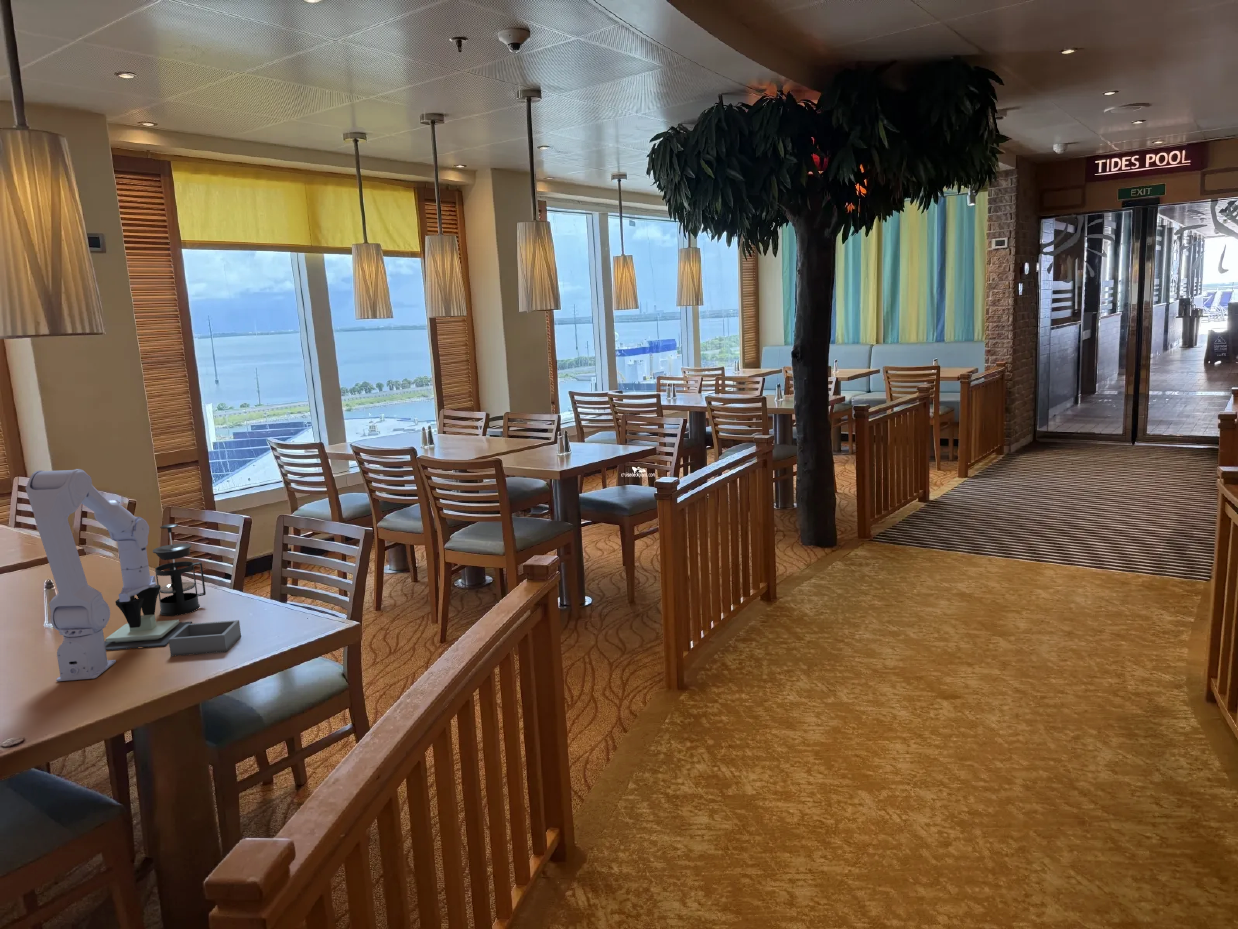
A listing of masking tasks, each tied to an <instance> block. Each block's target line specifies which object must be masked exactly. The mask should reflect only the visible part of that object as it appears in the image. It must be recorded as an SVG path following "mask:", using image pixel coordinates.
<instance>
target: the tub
mask: <svg viewBox="0 0 1238 929" xmlns="http://www.w3.org/2000/svg"><path fill="white" fill-rule="evenodd" d="M241 632H242V630H241V623H240V619H236V620H226V621H225V620H224V621H210V622H195V623H192V624H186V625H185V626H183V627H182V628H181V629H180V630H179V631H178V632H176V633H175V634H174V635H173V636H172V637H171V638H169V644H168V645H169V653H170V657H178V655H181V656H189V654H194V655H203V654H204V655H205V654H206V655H208V654H218V653H219V654H220V653H227V652H228V651H229V650H230V649H231V648H232V647H233V646H234V645H235V643H237V641H239V639H240V638H241V637H242V633H241ZM230 647H231V648H230ZM175 655H176V656H175Z"/></svg>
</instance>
